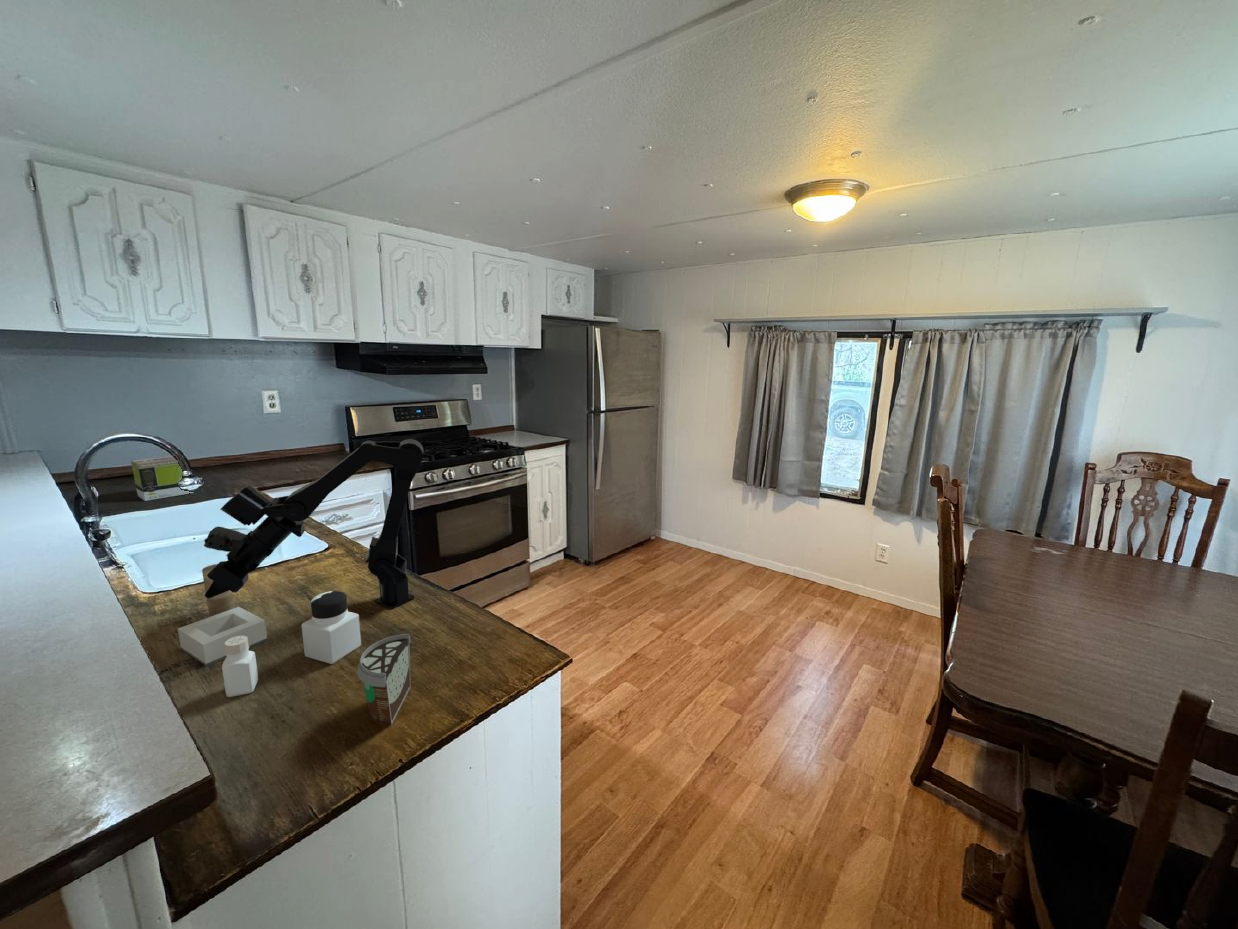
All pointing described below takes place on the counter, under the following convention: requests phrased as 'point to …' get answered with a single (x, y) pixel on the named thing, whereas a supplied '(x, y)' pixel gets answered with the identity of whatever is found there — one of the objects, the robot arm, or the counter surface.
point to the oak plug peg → (220, 601)
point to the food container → (386, 676)
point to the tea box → (157, 478)
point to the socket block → (220, 634)
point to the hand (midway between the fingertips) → (211, 592)
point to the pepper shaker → (239, 667)
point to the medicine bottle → (330, 628)
